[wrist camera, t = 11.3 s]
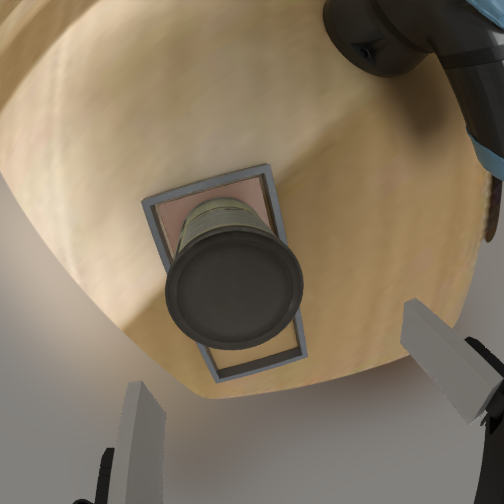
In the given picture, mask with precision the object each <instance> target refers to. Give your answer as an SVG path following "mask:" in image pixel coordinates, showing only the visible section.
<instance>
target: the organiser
mask: <svg viewBox="0 0 504 504" xmlns="http://www.w3.org/2000/svg"><path fill="white" fill-rule="evenodd" d="M258 174H262V178H263V182H264V186H265V190H266V195H267V199H268V203H269V208H270V212H271V217H272V221H273V225H274V230H275V234H276V236H277V237H278V239H280V240H281V241H282V242H283V243H285V244H286V245H287V246H288V244H287V239H286V234H285V230H284V225H283V220H282V215H281V211H280V206H279V202H278V197H277V192H276V188H275V184H274V179H273V175H272V170H271V166H270V164H262V165H258V166H254V167H250V168H246V169H242V170H238V171H234V172H230V173H226V174H223V175H219V176H215V177H212V178H208V179H205V180H201V181H198V182H195V183H191V184H188V185H185V186H181V187H178V188H175V189H172V190H169V191H166V192H163V193H159V194H156V195H153V196H150V197H147V198H145V199H143V200H142V201H141V203H142V206H143V209H144V212H145V215H146V218H147V221H148V224H149V227H150V230H151V233H152V236H153V238H154V241H155V244H156V247H157V249H158V252H159V255H160V258H161V260H162V263H163V265H164V268H165V271H166V273H167V276H168V272H169V269H170V267H171V264H172V263H173V260H172V257H171V254H170V252H169V249H168V246H167V243H166V240H165V237H164V235H163V232H162V229H161V226H160V223H159V220H158V217H157V214H156V211H155V208H154V204H157V203H160V202H164V201H167V200H170V199H173V198H176V197H179V196H183V195H186V194H189V193H192V192H196V191H199V190H203V189H206V188H210V187H213V186H217V185H220V184H224V183H227V182H231V181H235V180H239V179H242V178H246V177H250V176H254V175H258ZM215 197H231V198H236V199H238V200H241V201H243V202H245V203H246V204H248V205H249V206H250V207H252V208H253V209H254V210H255V211H256V213H257V214H258V215H259V217H260V218H261V219H262V220H263V222H265V224H266V225H267V226H268V227H269V228H270V224H269V220H268V216H267V211H266V207H265V203H264V198H263V194H262V190H261V186H260V182H259V177H255V178H251V179H247V180H243V181H240V182H236V183H232V184H228V185H225V186H221V187H218V188H214V189H211V190H207V191H204V192H200V193H197V194H193V195H190V196H187V197H184V198H180V199H177V200H174V201H171V202H168V203H164V204H161V205H158V208H159V211H160V214H161V217H162V221H163V224H164V227H165V229H166V232H167V235H168V238H169V241H170V244H171V247H172V250H173V253H174V255H175V252H176V247H177V244H178V240H179V236H180V229H181V226H182V224H183V221H184V219H185V218H186V216H187V215H188V213H189V212H190V211H191V210H192V209H193V208H194V207H196V206H197V205H198V204H199V203H201V202H204V201H206V200H208V199H211V198H215ZM293 321H294V326H295V331H296V336H297V341H298V347H297V348H294V349H291V350H288V351H285V352H282V353H279V354H275V355H272V356H269V357H265V358H262V359H259V360H255V361H252V362H248V363H244V364H241V365H237V366H233V367H229V368H225V369H221V370H218V368H217V366H216V364H215V362H214V359H213V357H212V355H211V353H210V351H209V348H208V347H207V346H204V345H202V344H200V343H198V342H196V343H197V345H198V348H199V350H200V352H201V354H202V356H203V358H204V360H205V362H206V364H207V366H208V368H209V370H210V372H211V374H212V376H213V378H214V380H215V382H216V383H220V382H224V381H228V380H232V379H236V378H240V377H244V376H248V375H251V374H255V373H258V372H262V371H265V370H269V369H272V368H275V367H279V366H282V365H285V364H288V363H291V362H294V361H297V360H300V359H303V358H306V357H308V354H307V348H306V342H305V336H304V330H303V324H302V318H301V312H300V307H299V309H298V311H297V312H296V314H295V316H294V317H293Z"/></svg>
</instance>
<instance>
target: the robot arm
mask: <svg viewBox="0 0 504 504" xmlns="http://www.w3.org/2000/svg"><path fill="white" fill-rule="evenodd" d="M323 15H324V23H325V26H326V29H327V31H328V34H329V36H330V37H331V39H332V41H333V42H334V44H335V45H336V47H337V48H338V49H339V50H340V51H341V52H342V54H343V55H344V56H345V57H346V58H348V59H349V60H350V61H351V62H352V63H354V64H355V65H356V66H358V67H359V68H361V69H363V70H364V71H366V72H369V73H371V74H373V75H377V76H381V77H394V76H398V75H402V74H405V73H407V72H409V71H411V70H412V69H414V68H415V67H416V66H417V65H418V64H419V63H420V62H421V61H422V60H423V59H424V58H425V57H426V56H428V55H429V54H430V53H433V52H435V53H436V55H437V57H438V59H439V61H440V63H441V65H442V67H443V69H444V71H445V73H446V75H447V77H448V80H449V82H450V84H451V86H452V89H453V91H454V94H455V96H456V98H457V101H458V103H459V106H460V109H461V111H462V114H463V117H464V120H465V123H466V130H467V133H468V135H469V137H470V138H471V140H472V143H473V146H474V149H475V152H476V155H477V158H478V160H479V162H480V163H481V165H482V166H483V167H484V168H485V169H486V170H487V171H489V172H491V174H492V175H493V176H495V177H497V178H498V179H500V180H502V181H504V0H327V2H326V4H325V6H324V13H323ZM400 343H401V344H402V345H403V347H404V348H405V349H406V350H407V351H408V352H409V353H410V355H411V356H412V357H413V358H414V359H415V360H416V362H417V363H418V364H419V365H420V366H421V367H422V369H423V370H424V371H425V372H426V373H427V374H428V376H429V377H430V378H431V379H432V381H433V382H434V383H435V384H436V385H437V387H438V388H439V389H440V390H441V391H442V393H443V394H444V395H445V396H446V398H447V399H448V400H449V401H450V403H451V404H452V405H453V406H454V408H455V409H456V410H457V411H458V413H459V414H460V415H461V416H462V418H463V419H464V420H465V422H466V423H467V424H468V426H469V425H471V424H472V423H473V422H474V421H476V420H477V419H478V418H479V417H480V416H481V414H482V413H483V412H484V410H486V411H487V412H488V413H487V414H486V416H485V417H484V419H483V420H482V422H481V425H480V426H482V425H483V424H484V423H485V421H486V424H485V426H486V430H485V442H484V451H483V460H482V467H481V472H480V478H479V483H478V488H477V492H476V496H475V501H474V504H504V364H503V363H502V362H501V361H500V360H499V359H498V358H497V357H496V356H495V355H493V354H492V353H491V352H490V351H489V350H488V349H487V348H485V346H484V345H483V344H481V342H479V341H478V340H476V339H474V338H472V337H467V338H466V339H465V340H464V339H462V338H461V337H460V336H459V335H458V334H457V333H456V332H455V331H454V330H453V329H451V328H450V327H449V326H448V325H447V324H446V323H445V322H444V321H442V320H441V319H440V318H439V317H438V316H437V315H436V314H434V313H433V312H432V311H431V310H430V309H429V308H428V307H426V306H425V305H424V304H423V303H422V302H420V301H419V300H418V299H417V298H414V299H412V300H410V301H407V302H405V303H404V313H403V323H402V332H401V340H400ZM165 421H166V412H165V411H164V410H163V409H162V407H161V406H160V405H159V403H158V402H157V401H156V399H155V398H154V397H153V395H152V394H151V393H150V391H149V390H148V389H147V387H146V386H145V384H144V383H143V382H142V381H136V382H129V383H128V387H127V391H126V395H125V400H124V404H123V409H122V413H121V419H120V423H119V428H118V434H117V440H116V445H115V448H107V449H106V451H105V452H104V454H103V456H102V459H101V464H100V467H101V468H100V470H99V477H98V483H97V490H96V497H95V503H94V504H163V459H164V438H165ZM73 504H93V503H91V502H90V501H88V500H85V499H79V500H76V501H75V502H74V503H73Z"/></svg>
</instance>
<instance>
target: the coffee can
mask: <svg viewBox="0 0 504 504" xmlns="http://www.w3.org/2000/svg"><path fill="white" fill-rule="evenodd" d="M303 286H304V284H303V275H302V271H301V268H300V265H299V262H298V260H297V259H296V257H295V255H294V254H293V252H292V251H291V250H290V248H289V247H288V246H287V245H286V244H285V243H283V242H282V241H281V240H280V239H278V237H277V236H276V235H275V234H274V233H273V232H272V231H271V229H270V228H269V227H268V226H267V225H266V224H265V222H263V220H262V219H261V218H260V217H259V215H258V214H257V213H256V211H255V210H254V209H253V208H252V207H250V206H249V205H248V204H246V203H245V202H243V201H241V200H238V199H236V198H231V197H215V198H211V199H208V200H206V201H204V202H201V203H199V204H198V205H197V206H196V207H194V208H193V209H192V210H191V211H190V212H189V213H188V215H187V216H186V218H185V219H184V221H183V224H182V226H181V229H180V236H179V240H178V244H177V247H176V252H175V255H174V259H173V263H172V264H171V267H170V269H169V272H168V276H167V280H166V286H165V297H166V304H167V307H168V311H169V313H170V315H171V317H172V319H173V321H174V322H175V324H176V325H177V326H178V327H179V328H180V330H181V331H182V332H183V333H185V334H186V335H187V336H188V337H190V338H191V339H192V340H194V341H196V342H198V343H200V344H202V345H204V346H207V347H211V348H215V349H221V350H242V349H247V348H251V347H254V346H257V345H260V344H262V343H264V342H266V341H268V340H270V339H271V338H273V337H275V336H276V335H278V334H279V333H280V332H281V331H282V330H283V329H284V328H285V327H286V326H287V325H288V324H289V323H290V322H291V320H292V319H293V317H294V316H295V314H296V312H297V311H298V309H299V306H300V303H301V300H302V296H303Z"/></svg>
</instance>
